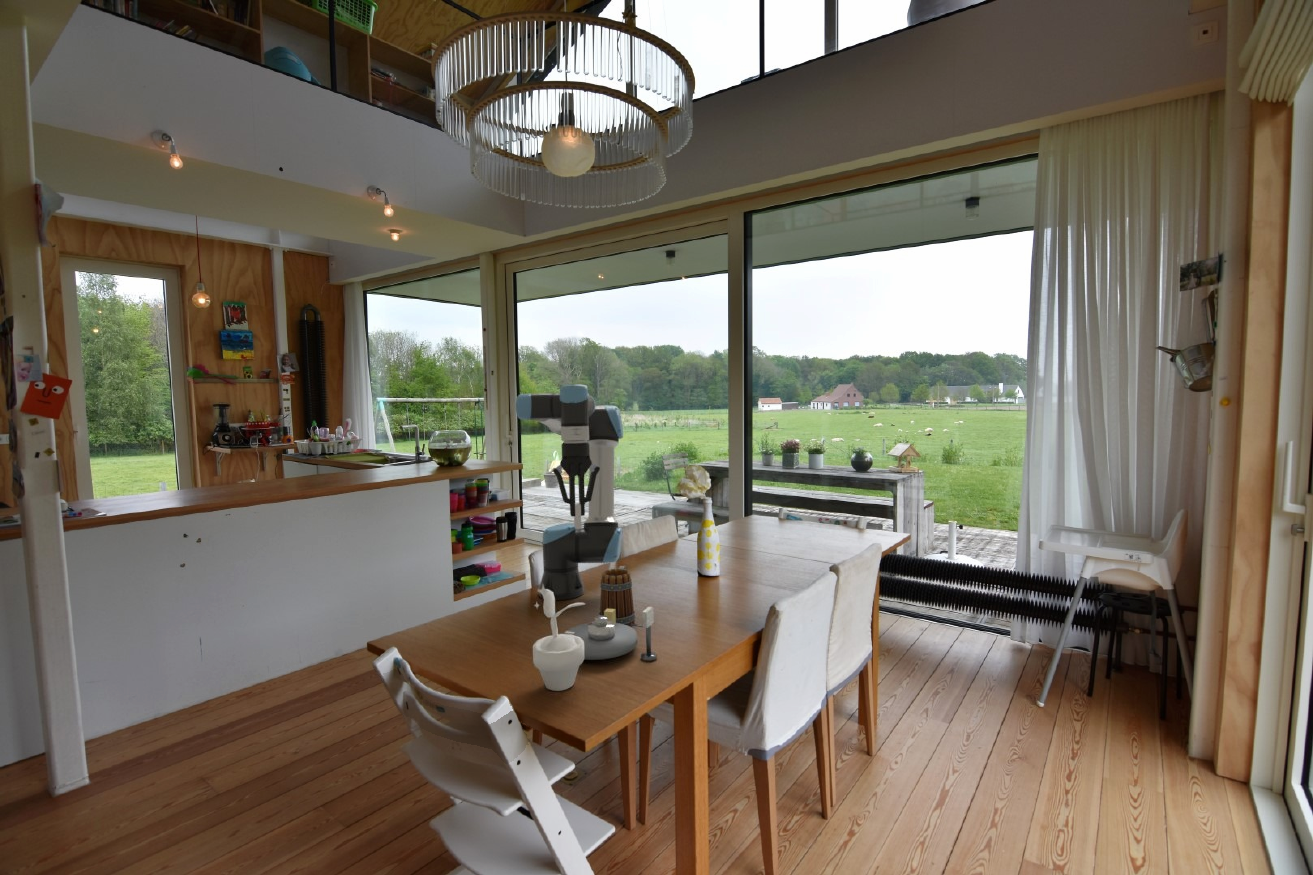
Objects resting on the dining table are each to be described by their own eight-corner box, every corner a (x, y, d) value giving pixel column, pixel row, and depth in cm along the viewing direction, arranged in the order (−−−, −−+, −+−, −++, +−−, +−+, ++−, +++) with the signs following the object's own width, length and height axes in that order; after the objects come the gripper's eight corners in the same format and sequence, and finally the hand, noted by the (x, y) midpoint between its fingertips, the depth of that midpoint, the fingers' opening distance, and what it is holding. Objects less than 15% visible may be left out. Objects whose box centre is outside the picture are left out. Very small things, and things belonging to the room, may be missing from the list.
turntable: (579, 626, 172) (578, 605, 171) (647, 632, 166) (646, 610, 165) (546, 655, 152) (545, 631, 152) (621, 663, 147) (621, 639, 146)
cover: (594, 629, 163) (594, 611, 163) (619, 632, 161) (618, 613, 161) (583, 639, 157) (583, 620, 156) (608, 642, 154) (608, 623, 154)
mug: (630, 630, 173) (629, 578, 172) (594, 628, 175) (593, 576, 174) (642, 611, 188) (641, 563, 187) (609, 609, 190) (608, 562, 189)
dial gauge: (659, 656, 155) (658, 607, 154) (652, 662, 151) (651, 612, 150) (635, 652, 157) (634, 604, 157) (628, 658, 154) (627, 609, 153)
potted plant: (523, 693, 137) (520, 583, 135) (550, 671, 147) (547, 569, 146) (573, 701, 132) (570, 588, 131) (597, 678, 143) (595, 573, 141)
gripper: (552, 443, 160) (555, 532, 162) (601, 441, 164) (604, 528, 165) (549, 441, 167) (552, 527, 169) (596, 440, 171) (598, 523, 173)
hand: (577, 527), depth 167 cm, fingers closed
